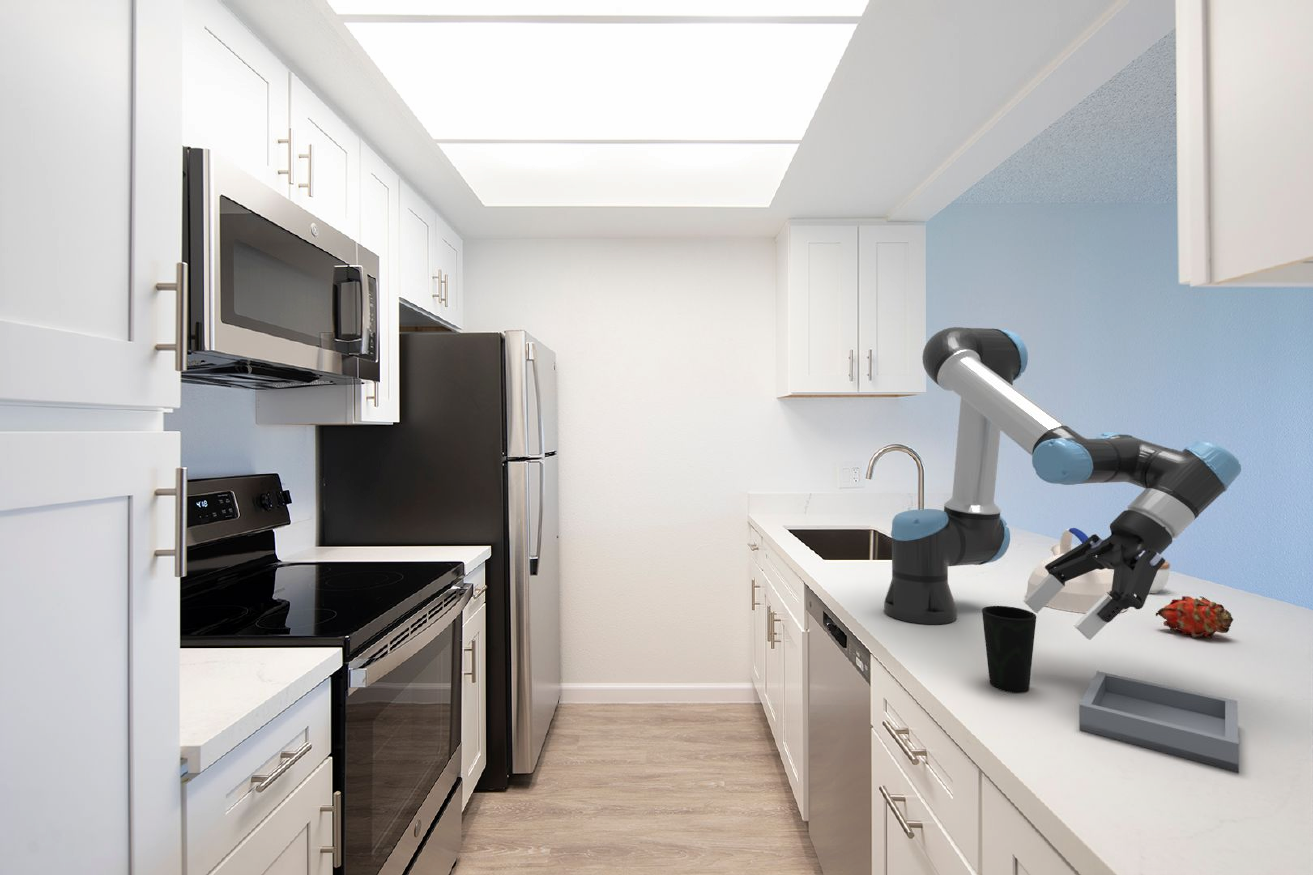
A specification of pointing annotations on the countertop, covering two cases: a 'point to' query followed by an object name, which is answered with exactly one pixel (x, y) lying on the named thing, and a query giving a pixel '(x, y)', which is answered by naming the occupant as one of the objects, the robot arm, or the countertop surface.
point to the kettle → (1073, 580)
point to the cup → (1009, 646)
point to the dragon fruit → (1196, 617)
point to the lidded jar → (1160, 578)
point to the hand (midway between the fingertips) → (1053, 619)
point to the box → (1162, 719)
